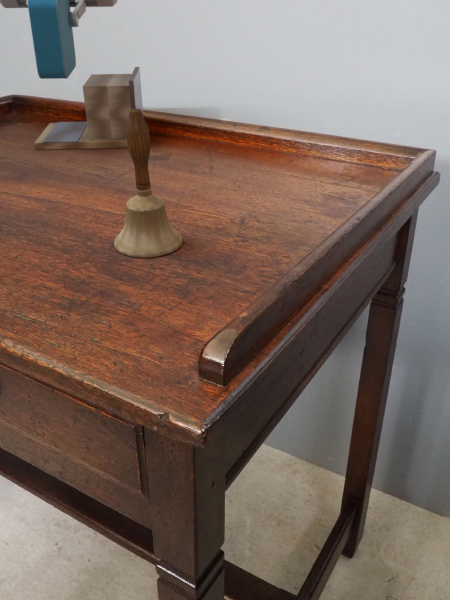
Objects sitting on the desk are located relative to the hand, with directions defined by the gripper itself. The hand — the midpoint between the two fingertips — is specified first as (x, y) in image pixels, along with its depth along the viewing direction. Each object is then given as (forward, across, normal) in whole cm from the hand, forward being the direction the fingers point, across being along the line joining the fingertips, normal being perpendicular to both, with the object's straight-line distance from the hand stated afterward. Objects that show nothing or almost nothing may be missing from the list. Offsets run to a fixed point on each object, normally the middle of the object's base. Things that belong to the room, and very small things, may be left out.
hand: (55, 24), depth 103 cm
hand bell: (+46, +17, -18) cm, 52 cm away
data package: (+7, 0, +3) cm, 8 cm away
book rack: (+14, +4, +13) cm, 19 cm away
